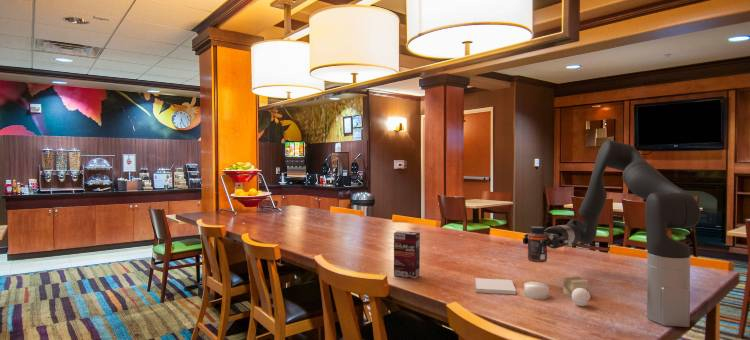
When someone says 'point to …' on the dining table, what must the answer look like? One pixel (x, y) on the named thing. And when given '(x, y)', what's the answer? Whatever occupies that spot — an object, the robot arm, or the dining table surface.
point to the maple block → (573, 284)
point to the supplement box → (406, 254)
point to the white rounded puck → (536, 290)
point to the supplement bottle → (537, 245)
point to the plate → (494, 286)
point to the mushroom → (580, 296)
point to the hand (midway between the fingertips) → (533, 242)
